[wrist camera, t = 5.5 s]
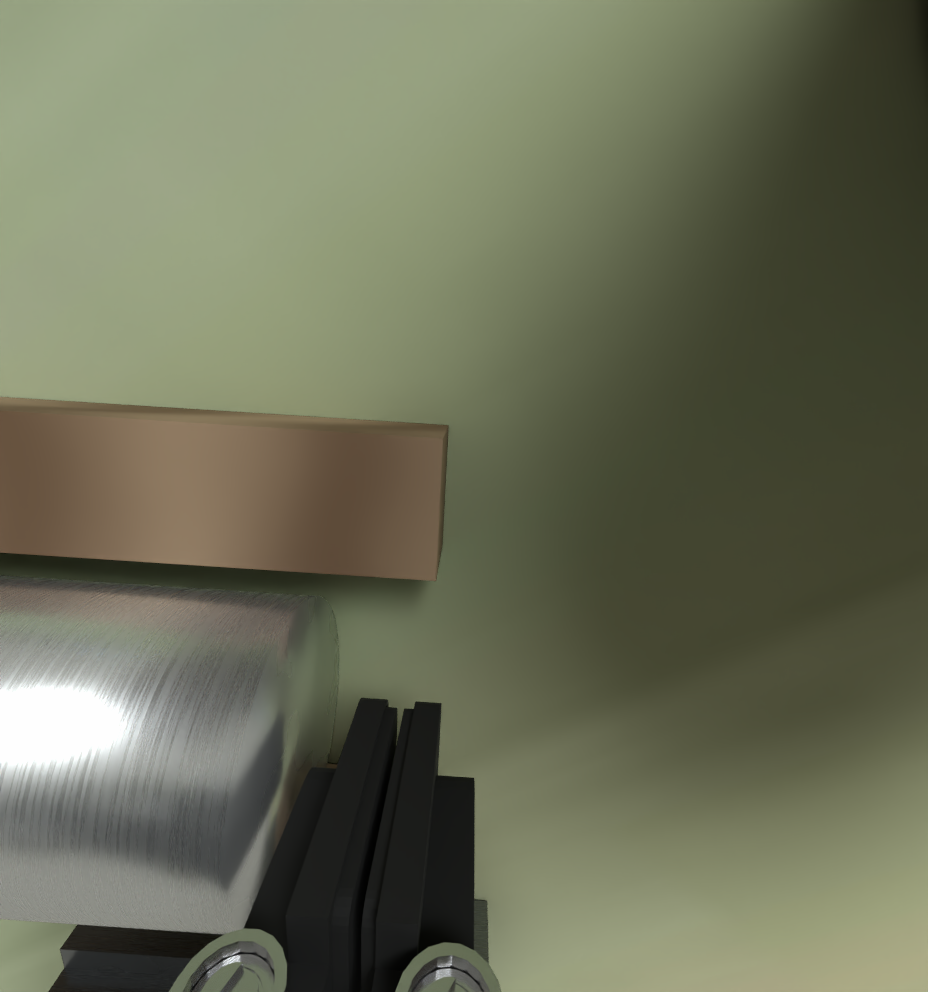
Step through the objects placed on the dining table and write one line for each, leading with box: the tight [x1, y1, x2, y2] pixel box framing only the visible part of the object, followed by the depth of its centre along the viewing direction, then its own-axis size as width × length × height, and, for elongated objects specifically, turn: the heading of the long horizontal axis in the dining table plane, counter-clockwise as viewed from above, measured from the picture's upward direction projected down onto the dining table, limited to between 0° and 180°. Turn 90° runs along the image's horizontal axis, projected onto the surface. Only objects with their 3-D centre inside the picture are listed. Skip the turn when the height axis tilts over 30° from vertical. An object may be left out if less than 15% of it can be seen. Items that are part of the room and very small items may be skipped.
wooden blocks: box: [0, 397, 449, 769], centre depth 12 cm, size 16×13×2 cm
